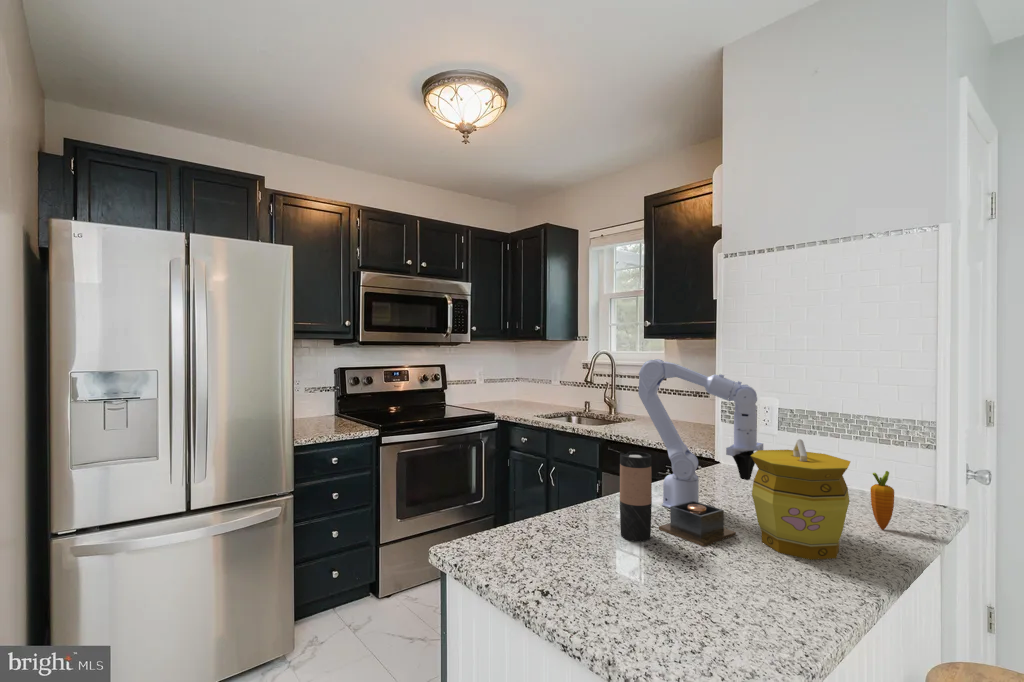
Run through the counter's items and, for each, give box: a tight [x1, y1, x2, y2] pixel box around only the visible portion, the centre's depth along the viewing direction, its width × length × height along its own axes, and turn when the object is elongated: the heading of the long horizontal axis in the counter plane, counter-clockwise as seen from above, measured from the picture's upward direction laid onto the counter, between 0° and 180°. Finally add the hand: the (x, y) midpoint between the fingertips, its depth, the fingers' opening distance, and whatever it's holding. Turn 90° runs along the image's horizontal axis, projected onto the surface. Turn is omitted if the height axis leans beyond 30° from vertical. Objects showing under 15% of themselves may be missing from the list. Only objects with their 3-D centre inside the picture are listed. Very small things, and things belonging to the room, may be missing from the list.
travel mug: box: [619, 451, 653, 543], centre depth 123 cm, size 8×8×20 cm
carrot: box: [870, 470, 895, 531], centre depth 128 cm, size 5×5×15 cm
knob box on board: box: [658, 501, 737, 547], centre depth 125 cm, size 13×13×6 cm
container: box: [751, 438, 851, 561], centre depth 117 cm, size 21×21×25 cm
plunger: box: [688, 504, 706, 515], centre depth 125 cm, size 7×7×5 cm
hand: (745, 479), depth 137 cm, fingers closed
